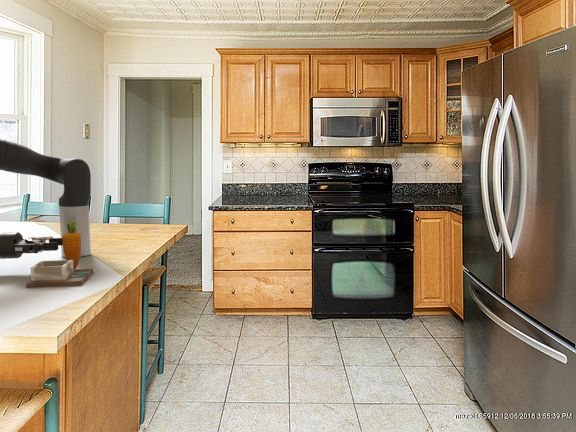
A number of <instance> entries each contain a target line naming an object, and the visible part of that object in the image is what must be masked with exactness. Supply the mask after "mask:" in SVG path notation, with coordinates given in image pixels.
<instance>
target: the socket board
mask: <svg viewBox="0 0 576 432" xmlns="http://www.w3.org/2000/svg"><path fill="white" fill-rule="evenodd" d="M93 274H94V268H86V269H85V268H82V269H81V268H80V269H77V268H76V269H75V270H74V268H73V260H66V259H65V260H63V259H60V260H40V261H39V262H37V263H36V264H34V265H32V266H30V280H29V281H28V282H26V283H25V284H26V286H25V287H26V288H27V289H30V288H32V289H34V288H52V287H75V286H77V287H78V286H82V285H83V284H84V283H86V281H87V280H88V279H89V278H90V277H91V276H92V275H93Z"/></svg>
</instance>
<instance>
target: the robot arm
mask: <svg viewBox="0 0 576 432" xmlns="http://www.w3.org/2000/svg"><path fill="white" fill-rule="evenodd" d="M0 171H4V172H9V173H13V174H20V175H29V176H36V177H40V178H43V179H46V180H49V181H53V182H55V183H58V184H60V185H63V193H62V195H61V196H60V197H59V198H58V211H59V213H58V214H59V229H60V231H59V232H60V237H54V236H52V235H51V236H31V237H27V238H25V239H24V238H23V234H22V233H20V232H18V231H16V232H15V231H13V232H0V260H6V259H19V258H21V257H22V256H23V254H38V253H42V252H46V251H47V252H48V251H49V252H52V251H55V252H56V251H58V250H59V246H61V247H60V248H61V249H60V250H61V251H60V253H61V256H62V257H63V258H65V254H64V250H63V240H62V236H63V235H64V234H65V233H68V232H69V231H68V228H67V223H66V222H69V224H70V226H71V223H72V221H73V220H74V221H75V223H78V224H77V225H76V226H75V227H77V228H76V229H75V230H74V232H77V233H79V234H80V235H81V253H80V258H81V257H87V256H90V255H91V253H92V249H91V248H92V247H91V226H90V225H91V224H90V205H89V201H90V197H91V191H92V190H91V189H92V186H91V185H92V184H91V183H92V182H91V181H92V178H91V169H90V166H89V165H88V163H87V162H86V161H85V160H84V159H82V158H71V157H70V158H63V157H62V158H61V157H54V156H50V155H45V154H42V153H40V152H37V151H35V150H33V149H31V148H29V147H28V146H25V145H23V144H21V143H17V142H16V141H15V142H14V141H11V140H7V139H4V138H0ZM47 241H48V242H47Z"/></svg>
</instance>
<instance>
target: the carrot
mask: <svg viewBox="0 0 576 432" xmlns="http://www.w3.org/2000/svg"><path fill="white" fill-rule="evenodd" d="M66 223H67V228H68V231H69V232H68V233H65V234H64V235H63V236H62V240H63V250H64V254H65V257H64V258H65V260H73V268H74V270H75V269H77V267H78V265H79V262H80V259H81V257H80V253H81V235H80V234H79V233H77V232H74V230H75V229H76V228H77V227H75V226H76V225H77V224H78V223H75V221H74V220H73V221H72V223H71V226H70V224H69V222H66Z"/></svg>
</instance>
